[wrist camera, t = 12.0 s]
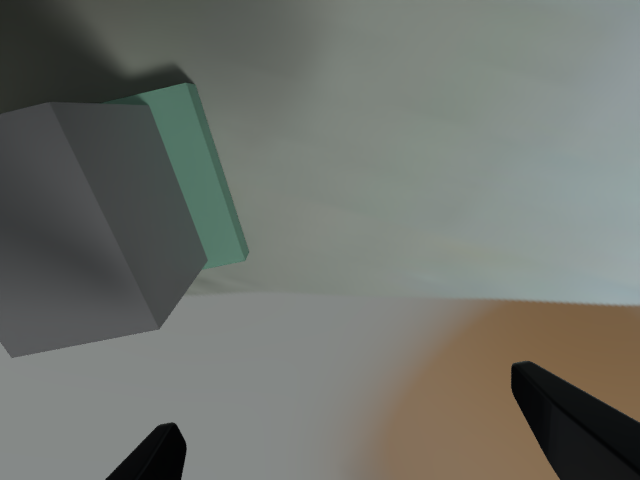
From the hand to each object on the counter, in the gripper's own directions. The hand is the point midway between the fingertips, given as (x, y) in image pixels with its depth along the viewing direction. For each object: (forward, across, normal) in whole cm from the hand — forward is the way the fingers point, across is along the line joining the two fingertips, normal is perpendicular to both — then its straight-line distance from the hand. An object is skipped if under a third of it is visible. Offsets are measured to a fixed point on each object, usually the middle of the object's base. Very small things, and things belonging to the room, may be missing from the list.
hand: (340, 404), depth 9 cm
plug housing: (+10, +9, -5) cm, 14 cm away
